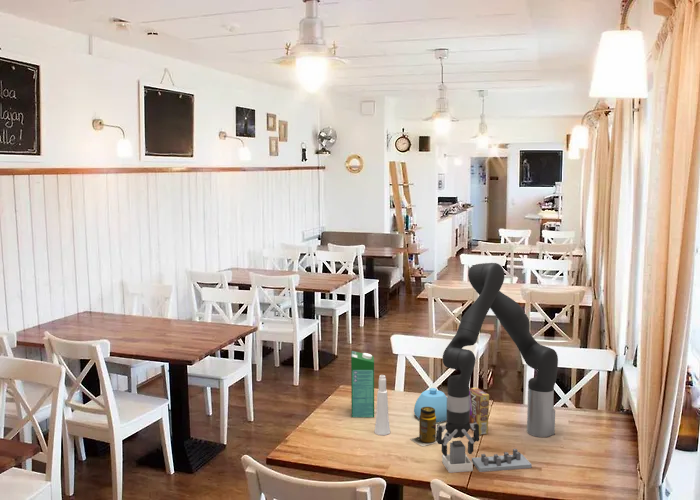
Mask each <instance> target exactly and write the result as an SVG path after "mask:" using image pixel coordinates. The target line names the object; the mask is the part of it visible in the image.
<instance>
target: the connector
mask: <svg viewBox="0 0 700 500" xmlns="http://www.w3.org/2000/svg"><path fill="white" fill-rule="evenodd" d="M449 454H450V463H451V464H463V463H465V454H466V445H464V443H463V442H462V440H452V442H449Z"/></svg>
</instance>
